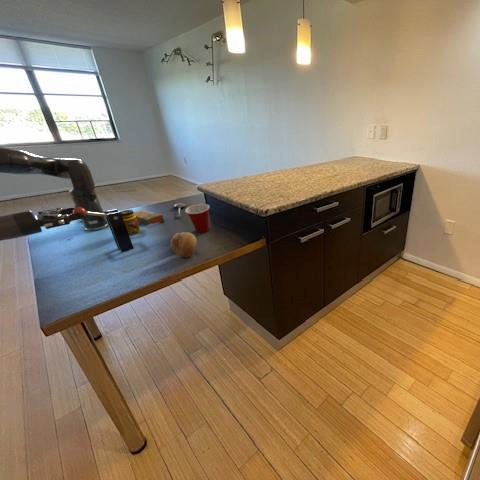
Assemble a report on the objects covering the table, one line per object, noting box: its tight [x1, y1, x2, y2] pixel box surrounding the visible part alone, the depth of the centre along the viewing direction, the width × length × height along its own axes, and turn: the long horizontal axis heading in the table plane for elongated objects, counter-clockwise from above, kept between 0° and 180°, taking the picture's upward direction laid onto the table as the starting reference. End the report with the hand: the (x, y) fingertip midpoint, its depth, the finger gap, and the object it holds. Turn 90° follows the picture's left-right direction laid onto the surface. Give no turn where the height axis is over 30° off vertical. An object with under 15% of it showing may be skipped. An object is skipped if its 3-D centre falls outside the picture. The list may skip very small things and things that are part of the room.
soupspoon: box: [174, 202, 187, 219], centre depth 150 cm, size 22×3×7 cm
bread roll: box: [170, 231, 198, 258], centre depth 108 cm, size 10×15×8 cm, turn 25°
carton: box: [133, 209, 165, 226], centre depth 136 cm, size 8×16×4 cm, turn 64°
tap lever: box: [73, 207, 113, 217], centre depth 98 cm, size 13×4×4 cm, turn 140°
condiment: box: [120, 209, 142, 236], centre depth 119 cm, size 7×8×12 cm
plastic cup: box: [184, 203, 210, 234], centre depth 125 cm, size 11×11×12 cm
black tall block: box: [103, 208, 135, 253], centre depth 105 cm, size 12×9×18 cm
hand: (81, 211), depth 94 cm, fingers open, 8 cm apart
